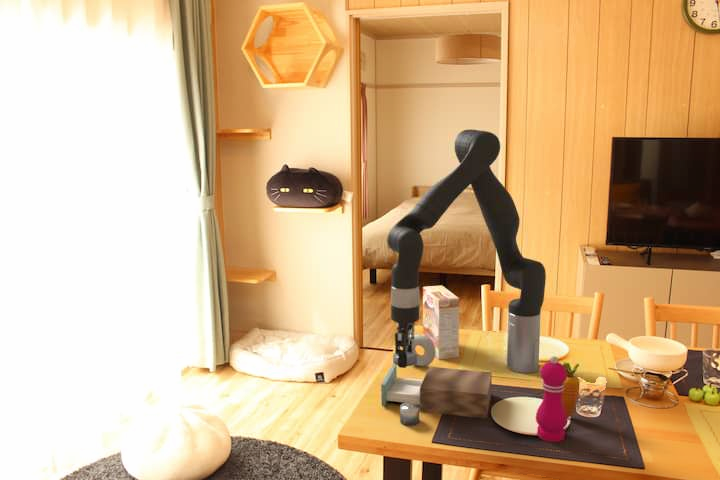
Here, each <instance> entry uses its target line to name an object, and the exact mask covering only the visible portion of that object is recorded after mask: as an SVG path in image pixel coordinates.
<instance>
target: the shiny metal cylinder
mask: <svg viewBox="0 0 720 480" xmlns="http://www.w3.org/2000/svg"><path fill="white" fill-rule="evenodd" d="M399 422H400V424H401V425H403V426H406V427H415V426H418V425H419V424H420V404H416V403H412V402H402V403H401V404H400V406H399Z"/></svg>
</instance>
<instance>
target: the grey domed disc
mask: <svg viewBox="0 0 720 480" xmlns="http://www.w3.org/2000/svg"><path fill="white" fill-rule="evenodd" d="M417 354H418V353H417ZM417 354H416V353H414V352H411V351H407V366H406V367H412V366H416V365H415V364H416V363H417ZM392 363H393V364H396V366H398V354H396V353H395V352H394V353H393V354H392Z"/></svg>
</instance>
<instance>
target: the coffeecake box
mask: <svg viewBox="0 0 720 480" xmlns="http://www.w3.org/2000/svg"><path fill="white" fill-rule="evenodd" d="M422 335H424V336H426V337H428V338H429V339H430V340H431V341H432V342H433V344H434V346H435V351H436V354H435V358H437V359H438V360H446V359H454V358H455V359H456V358H459V357H460V356H459V354H460V352H459V351H460V349H459V348H460V346H459V344H460V297H458V296H457V295H455V294H454V293H453V292H451V291H450V290H449V289H448V288H446V287H445V286H444V285H442V284H441V285H432V286H431V285H428V286H423V287H422Z"/></svg>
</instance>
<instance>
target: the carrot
mask: <svg viewBox="0 0 720 480" xmlns="http://www.w3.org/2000/svg"><path fill="white" fill-rule="evenodd" d="M562 365H563V366H564V367H565V368H566V371H567V378H566V380H565V381H564V382H563V383H564V390H563V391H562V394H561V399H562V404H563V406H564V408H565V411H566V413H567V417H569V418H570V417H571V416H572V414H573V413H574V411H575V410H576V407H577V403H578V399H579V392H580V382H581V381H580V379H579V377H578V376H577V375H576V374H575V372H577V369H578V367H580V364H579V363H575V365H574V367H573V369H572V367H571V365H570V362H566V361H563V362H562Z"/></svg>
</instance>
